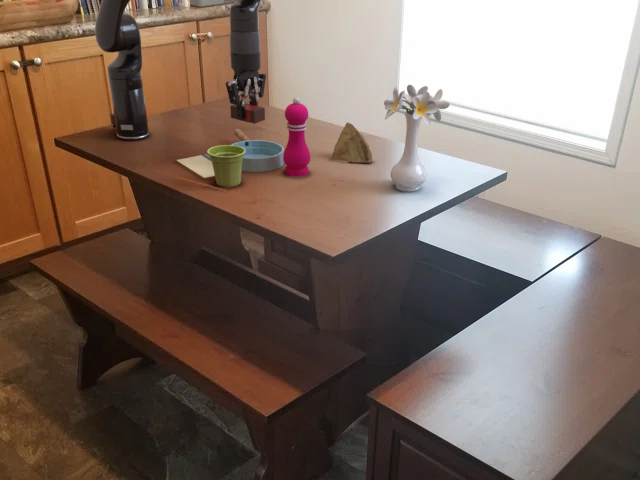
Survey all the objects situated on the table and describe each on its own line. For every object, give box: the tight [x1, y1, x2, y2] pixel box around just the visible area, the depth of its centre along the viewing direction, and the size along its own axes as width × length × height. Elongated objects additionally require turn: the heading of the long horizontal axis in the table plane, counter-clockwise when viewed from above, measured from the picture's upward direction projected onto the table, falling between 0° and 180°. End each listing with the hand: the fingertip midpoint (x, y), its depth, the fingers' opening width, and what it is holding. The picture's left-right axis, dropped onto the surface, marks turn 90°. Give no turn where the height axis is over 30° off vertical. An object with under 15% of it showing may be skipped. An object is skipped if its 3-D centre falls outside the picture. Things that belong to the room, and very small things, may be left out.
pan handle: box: [233, 128, 251, 146], centre depth 197 cm, size 12×2×2 cm, turn 22°
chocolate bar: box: [229, 102, 266, 125], centre depth 181 cm, size 8×4×3 cm, turn 58°
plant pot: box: [206, 144, 245, 188], centre depth 174 cm, size 9×9×9 cm
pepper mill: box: [283, 96, 311, 178], centre depth 178 cm, size 7×7×20 cm
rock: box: [331, 122, 373, 164], centre depth 191 cm, size 11×9×10 cm
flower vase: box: [383, 84, 450, 193], centre depth 171 cm, size 13×18×25 cm
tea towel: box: [176, 153, 215, 179], centre depth 185 cm, size 16×9×1 cm, turn 37°
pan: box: [230, 139, 285, 173], centre depth 188 cm, size 15×16×4 cm
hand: (247, 117), depth 182 cm, fingers closed on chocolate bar, 4 cm apart
